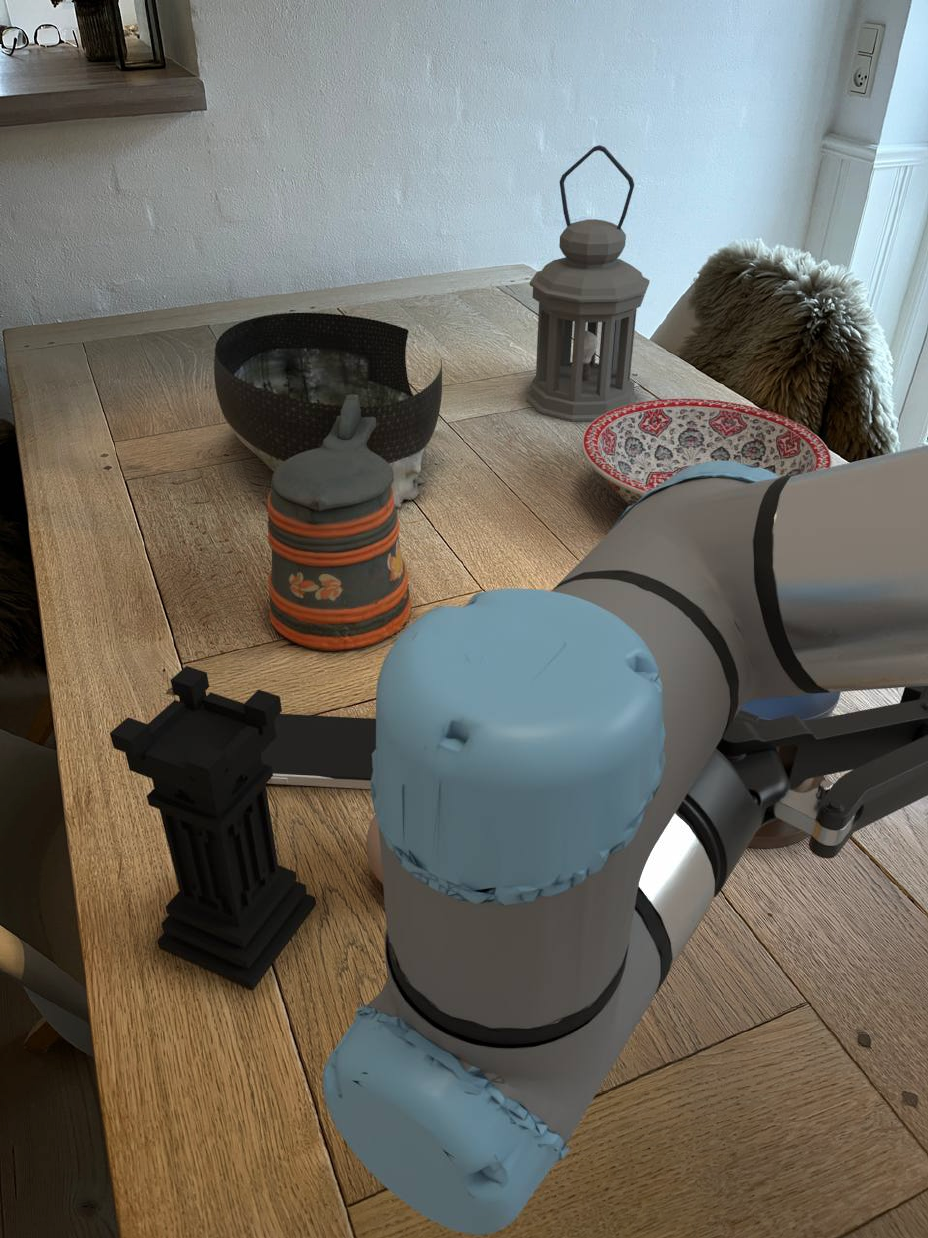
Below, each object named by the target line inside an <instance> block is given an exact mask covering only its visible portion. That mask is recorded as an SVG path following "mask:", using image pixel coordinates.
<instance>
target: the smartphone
mask: <svg viewBox="0 0 928 1238" xmlns="http://www.w3.org/2000/svg"><path fill="white" fill-rule="evenodd" d="M274 724H275V731H276V738H275V739H274V740H273V741H272V742H271V743H270V745H269V746H268V747H267V748H266V749H265V750H264V751H263V752H262V753H261V759H262V763H263V764H265V765H268V766H271V767H272V772H273V776H272V777H271V779H270V780H269V781H268V782H267V783H266V784H271V785H286V786H287V785H288V786H305V787H306V786H308V787H323V788H324V787H325V788H343V789H360V790H361V789H362V790H371V785H370V782H371V778H372V773H373V767H372V753H373V752H374V751H375V749H376V718H371V717H370V718H369V717H350V716H349V717H348V716H330V715H329V716H328V715H313V714H312V715H311V714H309V715H308V714H293V713H280V714H279V715H278V716H277V717H276V718H275V719H274Z"/></svg>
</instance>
